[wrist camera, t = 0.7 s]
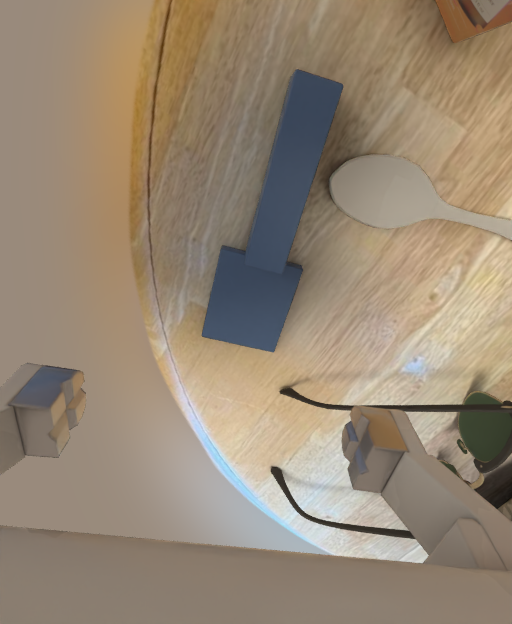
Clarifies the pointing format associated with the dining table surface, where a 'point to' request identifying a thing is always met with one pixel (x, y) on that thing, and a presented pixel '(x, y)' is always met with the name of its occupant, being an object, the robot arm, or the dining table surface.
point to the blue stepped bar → (274, 223)
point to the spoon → (398, 195)
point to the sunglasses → (475, 434)
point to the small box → (473, 16)
